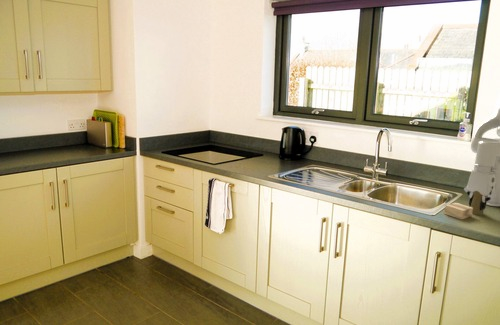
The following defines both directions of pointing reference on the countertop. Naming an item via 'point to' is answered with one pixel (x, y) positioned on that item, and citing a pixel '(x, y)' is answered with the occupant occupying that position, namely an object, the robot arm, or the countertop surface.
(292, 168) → the countertop surface
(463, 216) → the oak block base
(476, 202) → the cork
